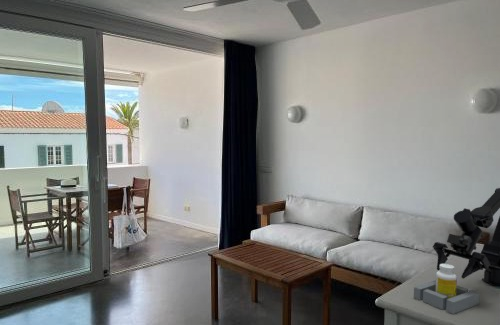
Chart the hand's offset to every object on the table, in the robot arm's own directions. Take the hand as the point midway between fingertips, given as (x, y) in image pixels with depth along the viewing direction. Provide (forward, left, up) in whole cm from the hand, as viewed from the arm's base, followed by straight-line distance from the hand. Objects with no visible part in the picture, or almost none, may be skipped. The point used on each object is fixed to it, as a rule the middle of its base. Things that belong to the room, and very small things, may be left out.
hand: (449, 273), depth 140 cm
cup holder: (+2, +1, -10) cm, 10 cm away
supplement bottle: (+2, +1, -10) cm, 10 cm away
